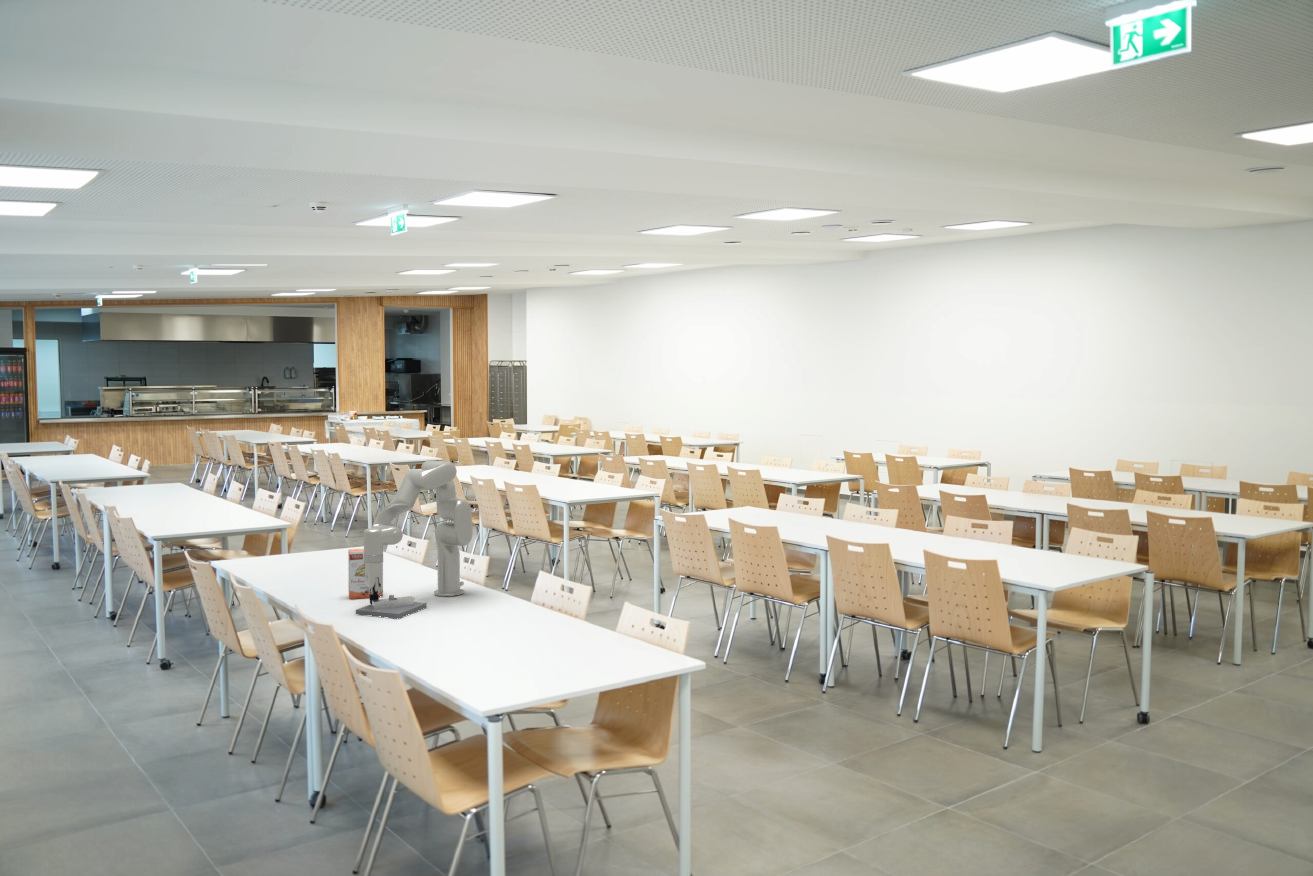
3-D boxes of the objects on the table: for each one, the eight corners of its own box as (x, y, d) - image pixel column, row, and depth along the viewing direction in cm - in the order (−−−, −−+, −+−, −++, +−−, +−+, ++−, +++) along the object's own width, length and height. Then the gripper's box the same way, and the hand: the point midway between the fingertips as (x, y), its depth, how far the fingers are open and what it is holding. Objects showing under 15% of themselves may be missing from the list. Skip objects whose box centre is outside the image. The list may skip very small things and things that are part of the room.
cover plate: (384, 603, 412) (384, 588, 411) (426, 607, 405) (426, 592, 405) (355, 614, 393) (355, 598, 393) (398, 619, 387) (398, 602, 386)
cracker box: (349, 599, 419) (349, 551, 418) (348, 596, 424) (347, 548, 423) (383, 597, 424) (383, 549, 423) (381, 594, 430) (381, 547, 428)
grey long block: (371, 607, 397) (371, 600, 397) (410, 602, 405) (410, 595, 405) (374, 610, 393) (374, 602, 393) (414, 605, 401) (414, 598, 401)
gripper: (359, 556, 402) (360, 600, 403) (368, 562, 389) (369, 608, 390) (378, 555, 406) (378, 598, 407) (387, 561, 393) (388, 606, 394)
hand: (374, 603), depth 399 cm, fingers closed
